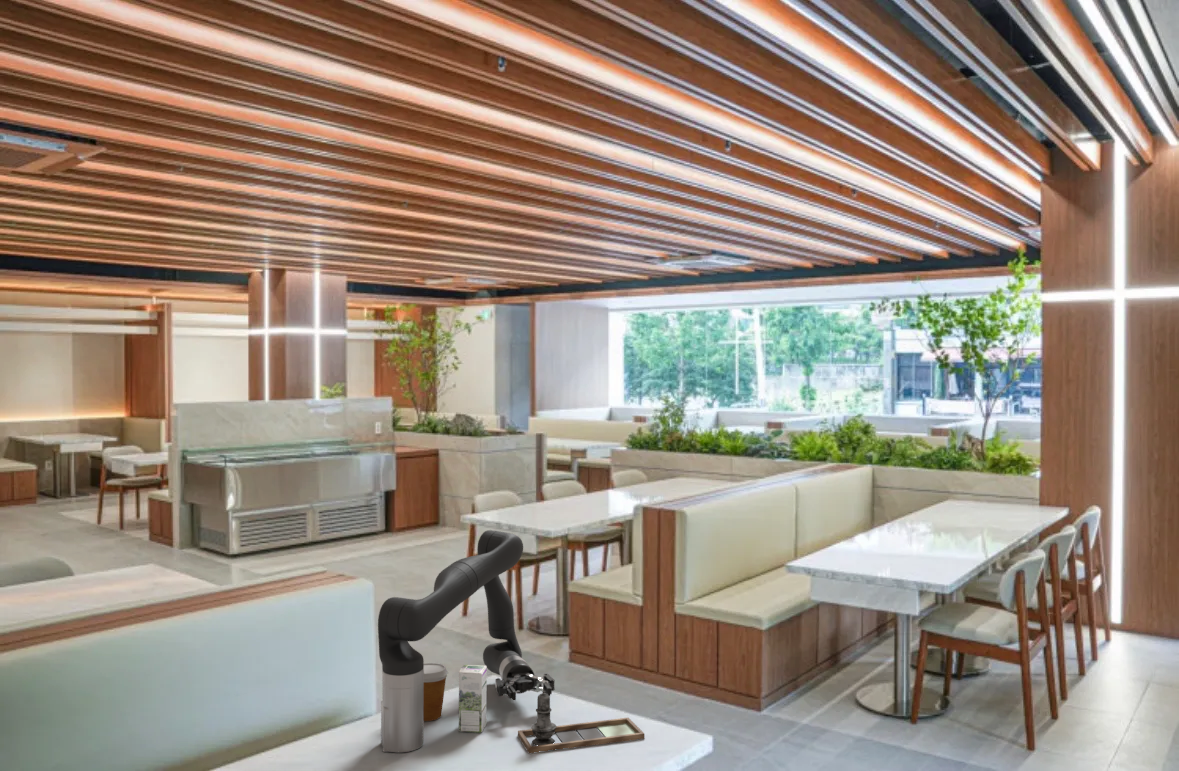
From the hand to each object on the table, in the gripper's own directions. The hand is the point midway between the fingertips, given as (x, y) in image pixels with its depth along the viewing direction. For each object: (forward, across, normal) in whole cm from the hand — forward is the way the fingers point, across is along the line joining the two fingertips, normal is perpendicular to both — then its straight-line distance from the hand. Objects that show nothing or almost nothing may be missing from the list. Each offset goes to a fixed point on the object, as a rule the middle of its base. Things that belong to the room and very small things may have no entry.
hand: (531, 694), depth 216 cm
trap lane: (+11, +9, +7) cm, 16 cm away
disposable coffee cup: (-13, -23, +8) cm, 28 cm away
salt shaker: (+11, 0, +8) cm, 13 cm away
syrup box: (-2, -14, +8) cm, 16 cm away
